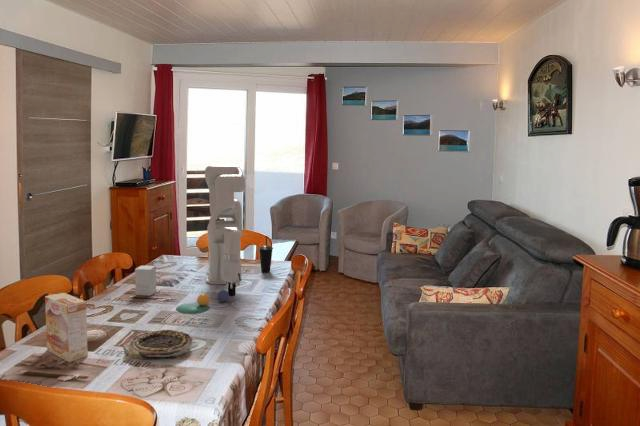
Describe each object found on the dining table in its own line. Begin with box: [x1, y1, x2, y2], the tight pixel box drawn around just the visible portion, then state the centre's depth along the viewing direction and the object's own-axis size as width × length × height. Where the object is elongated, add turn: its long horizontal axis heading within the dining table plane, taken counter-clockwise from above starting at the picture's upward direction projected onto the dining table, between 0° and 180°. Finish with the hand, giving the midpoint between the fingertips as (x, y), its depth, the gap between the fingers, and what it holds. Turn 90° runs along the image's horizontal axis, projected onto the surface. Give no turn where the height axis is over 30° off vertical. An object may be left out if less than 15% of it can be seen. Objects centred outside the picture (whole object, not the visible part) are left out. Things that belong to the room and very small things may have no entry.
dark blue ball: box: [216, 289, 230, 303], centre depth 249 cm, size 6×6×6 cm
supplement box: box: [134, 265, 157, 296], centre depth 258 cm, size 7×7×13 cm
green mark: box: [176, 302, 210, 315], centre depth 240 cm, size 14×14×1 cm
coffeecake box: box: [44, 292, 89, 363], centre depth 187 cm, size 15×7×20 cm, turn 52°
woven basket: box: [123, 329, 193, 365], centre depth 193 cm, size 28×27×5 cm
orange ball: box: [196, 293, 211, 306], centre depth 243 cm, size 6×6×6 cm
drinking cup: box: [258, 236, 274, 274], centre depth 305 cm, size 8×8×20 cm
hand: (231, 295), depth 254 cm, fingers closed
